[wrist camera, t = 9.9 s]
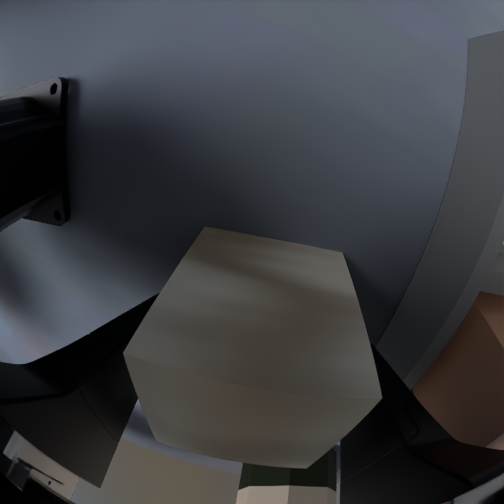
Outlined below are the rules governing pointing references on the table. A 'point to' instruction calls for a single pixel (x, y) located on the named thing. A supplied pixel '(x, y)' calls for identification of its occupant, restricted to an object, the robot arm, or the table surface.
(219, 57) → the table surface
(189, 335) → the ivory block
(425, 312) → the pocket frame
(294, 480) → the wine bottle
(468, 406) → the terracotta block
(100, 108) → the table surface
